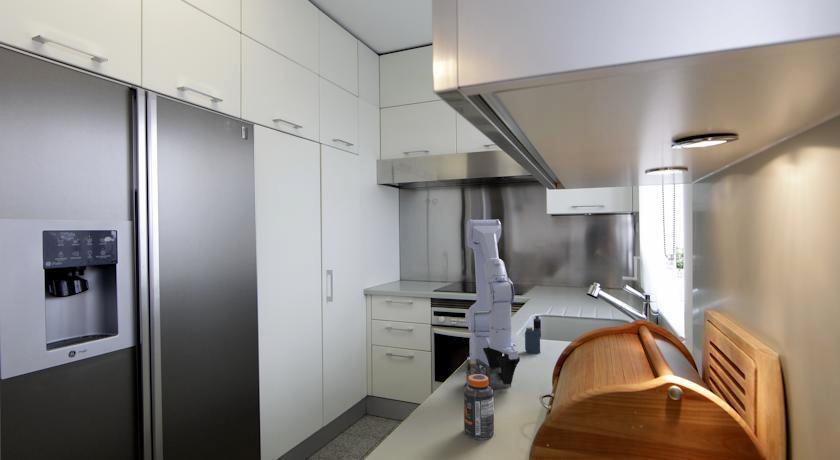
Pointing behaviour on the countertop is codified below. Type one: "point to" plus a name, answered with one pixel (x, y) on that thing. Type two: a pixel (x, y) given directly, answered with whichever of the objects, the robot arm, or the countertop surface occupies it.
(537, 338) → the vaping device
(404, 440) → the countertop surface
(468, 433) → the pill bottle
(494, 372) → the gray rectangular prism
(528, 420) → the countertop surface
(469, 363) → the dark grey rectangular frame
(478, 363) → the bracket
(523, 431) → the countertop surface
